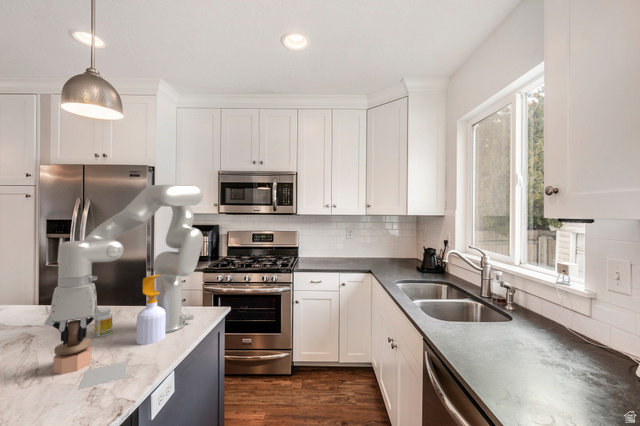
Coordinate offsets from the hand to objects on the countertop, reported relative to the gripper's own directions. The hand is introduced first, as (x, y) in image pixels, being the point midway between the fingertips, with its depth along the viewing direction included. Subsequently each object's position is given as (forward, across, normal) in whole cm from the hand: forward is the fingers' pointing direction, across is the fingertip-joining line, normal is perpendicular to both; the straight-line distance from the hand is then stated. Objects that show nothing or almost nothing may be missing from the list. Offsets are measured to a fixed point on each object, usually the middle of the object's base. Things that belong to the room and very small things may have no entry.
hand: (73, 340), depth 81 cm
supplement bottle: (+8, -4, -24) cm, 26 cm away
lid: (+2, 0, 0) cm, 2 cm away
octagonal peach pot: (+8, 0, 0) cm, 8 cm away
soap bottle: (+8, -20, -9) cm, 23 cm away
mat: (+8, -9, +10) cm, 16 cm away
